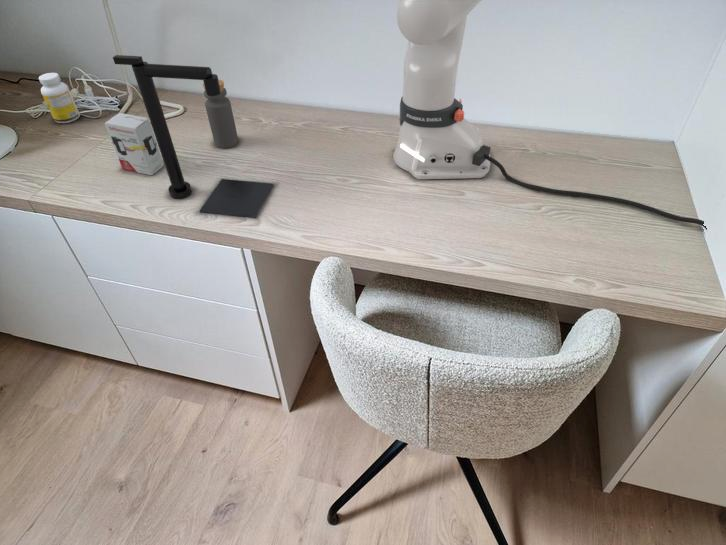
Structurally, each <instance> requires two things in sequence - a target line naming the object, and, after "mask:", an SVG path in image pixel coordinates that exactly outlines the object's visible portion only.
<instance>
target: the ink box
mask: <svg viewBox="0 0 726 545" xmlns="http://www.w3.org/2000/svg"><path fill="white" fill-rule="evenodd" d="M104 125H105V128H106V130H107V134H108V136H109V139H110V141H111V143H112V146H113V149H114V152H115V154H116V157H117V159H118V161H119V165H120V166H121V169H122V170H124V171H128V172H133V173H139V174H143V175H148V176H153V175H154V174H156V173H157V172H158V171H160V170H161V169H162V168H163V167H165V164H164V161H163V158H162V155H161V152H160V149H159V146H158V143H157V140H156V137H155V134H154V131H153V128H152V125H151V122H150V119H149V118H148V117H144V116H138V115H134V114H128V113H123V112H119V113H117V114H115V115H114V116H112V117H111V118H109V119H108V120H106V121H104Z"/></svg>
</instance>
